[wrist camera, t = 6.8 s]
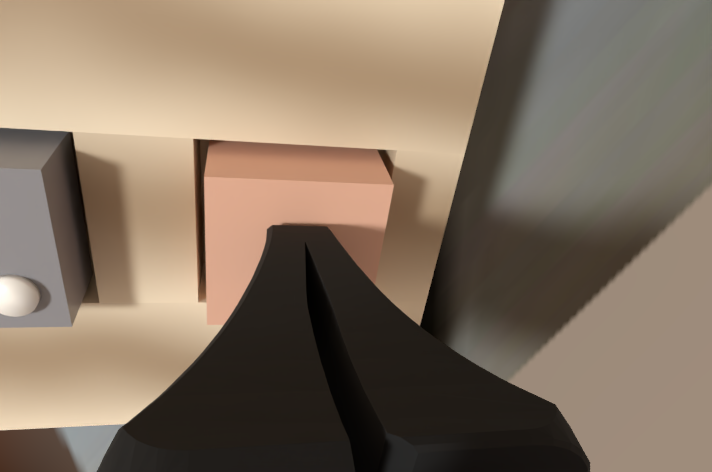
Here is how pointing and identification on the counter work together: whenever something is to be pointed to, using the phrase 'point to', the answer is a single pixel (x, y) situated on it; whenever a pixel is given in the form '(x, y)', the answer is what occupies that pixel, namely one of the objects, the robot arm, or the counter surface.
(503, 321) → the counter surface
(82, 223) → the charcoal tile
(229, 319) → the robot arm
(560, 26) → the counter surface
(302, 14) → the tile panel
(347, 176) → the terracotta tile
